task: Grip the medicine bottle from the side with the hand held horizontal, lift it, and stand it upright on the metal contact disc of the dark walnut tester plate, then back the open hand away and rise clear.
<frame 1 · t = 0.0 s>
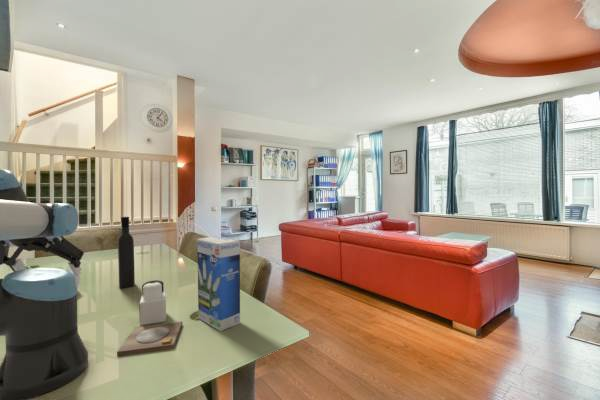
hand: (52, 274, 86), 15 cm above the table, tool tilted 35°, fingers open, 13 cm apart
string lights box: (219, 321, 87), on the table
wine bottle: (126, 286, 121), on the table
cup: (70, 292, 114), on the table
tester plate: (152, 338, 77), on the table
medicine bottle: (153, 319, 89), on the table
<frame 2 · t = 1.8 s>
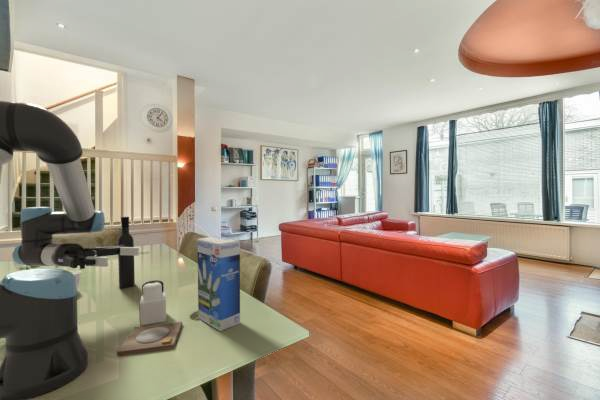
hand: (124, 256, 89), 20 cm above the table, tool horizontal, fingers open, 13 cm apart
nothing on the table moved.
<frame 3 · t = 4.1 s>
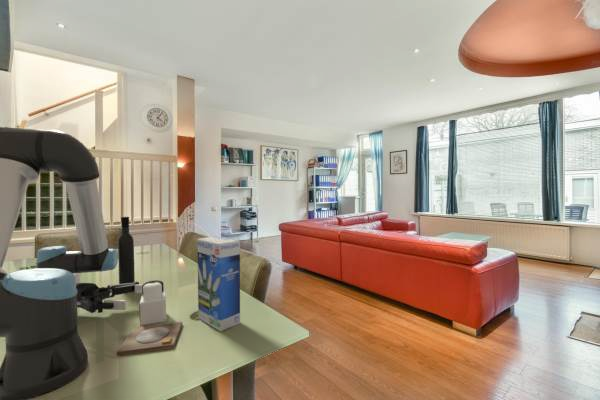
hand: (140, 296, 90), 7 cm above the table, tool horizontal, fingers open, 13 cm apart
nothing on the table moved.
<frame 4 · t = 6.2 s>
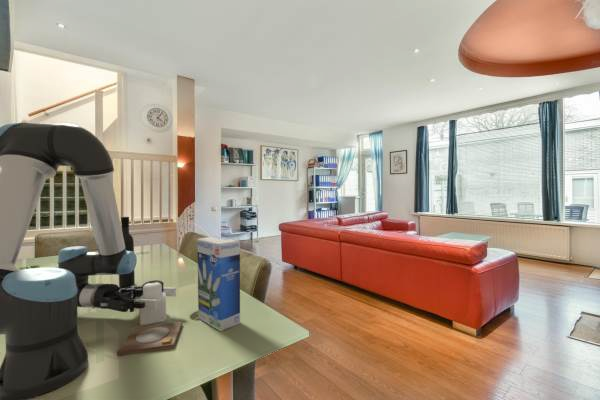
hand: (166, 297, 88), 7 cm above the table, tool horizontal, fingers closed on medicine bottle, 9 cm apart
medicine bottle: (153, 319, 89), on the table, touching gripper
everything else where it was.
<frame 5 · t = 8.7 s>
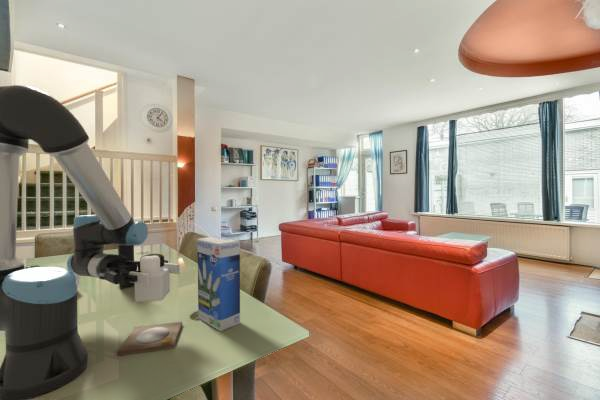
hand: (164, 273, 77), 18 cm above the table, tool horizontal, fingers closed on medicine bottle, 9 cm apart
medicine bottle: (153, 297, 79), point 11 cm above the table, touching gripper
everything else where it was.
when the fingers open (9 cm above the table, at t = 11.4 s): medicine bottle drops 1 cm, resting on tester plate.
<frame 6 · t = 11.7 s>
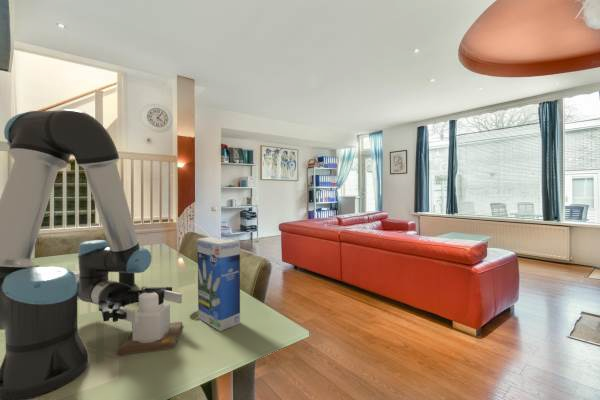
hand: (160, 307, 75), 9 cm above the table, tool horizontal, fingers open, 13 cm apart
medicine bottle: (152, 335, 77), point 1 cm above the table, touching tester plate
everything else where it was.
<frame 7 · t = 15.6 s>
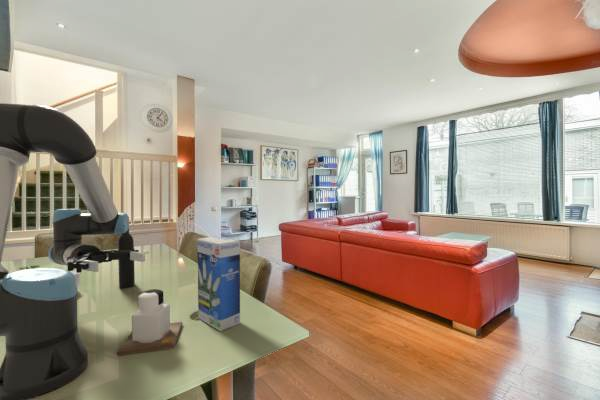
hand: (122, 261, 82), 20 cm above the table, tool horizontal, fingers open, 13 cm apart
nothing on the table moved.
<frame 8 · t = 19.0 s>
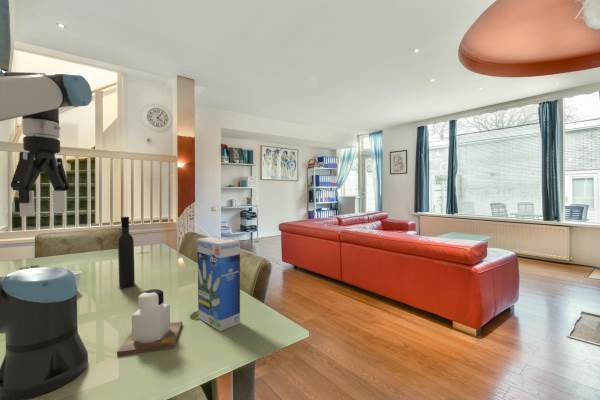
hand: (44, 214, 77), 35 cm above the table, tool pointing down, fingers open, 13 cm apart
nothing on the table moved.
at the end: medicine bottle 0.2 cm from the tester plate (horizontally); medicine bottle tilted 0°; the gripper is holding nothing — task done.
